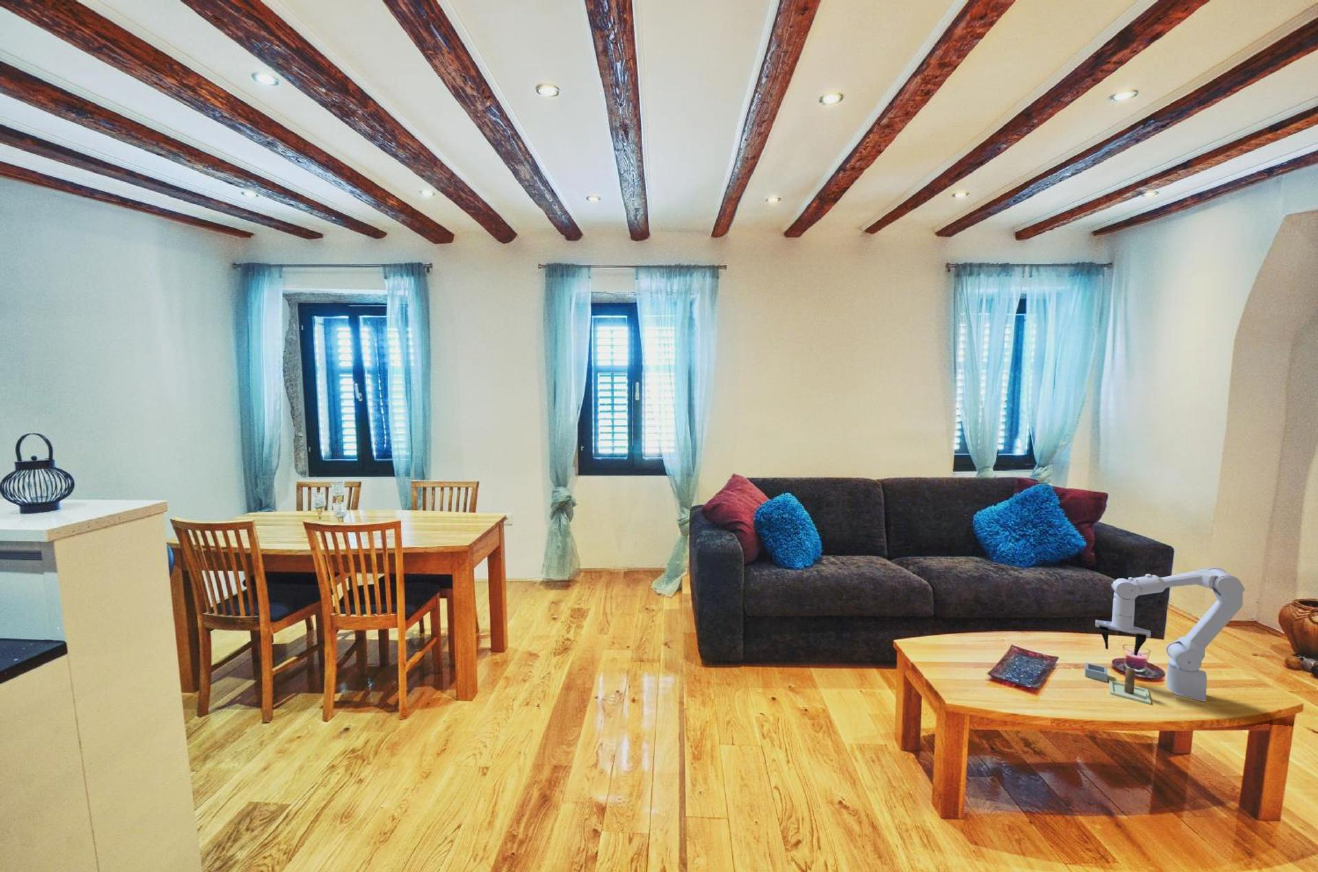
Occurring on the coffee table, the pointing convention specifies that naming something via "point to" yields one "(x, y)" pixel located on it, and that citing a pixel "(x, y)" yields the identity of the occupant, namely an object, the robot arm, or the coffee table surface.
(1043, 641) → the coffee table surface
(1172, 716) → the coffee table surface
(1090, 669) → the grey open box
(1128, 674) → the dowel
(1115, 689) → the tray
